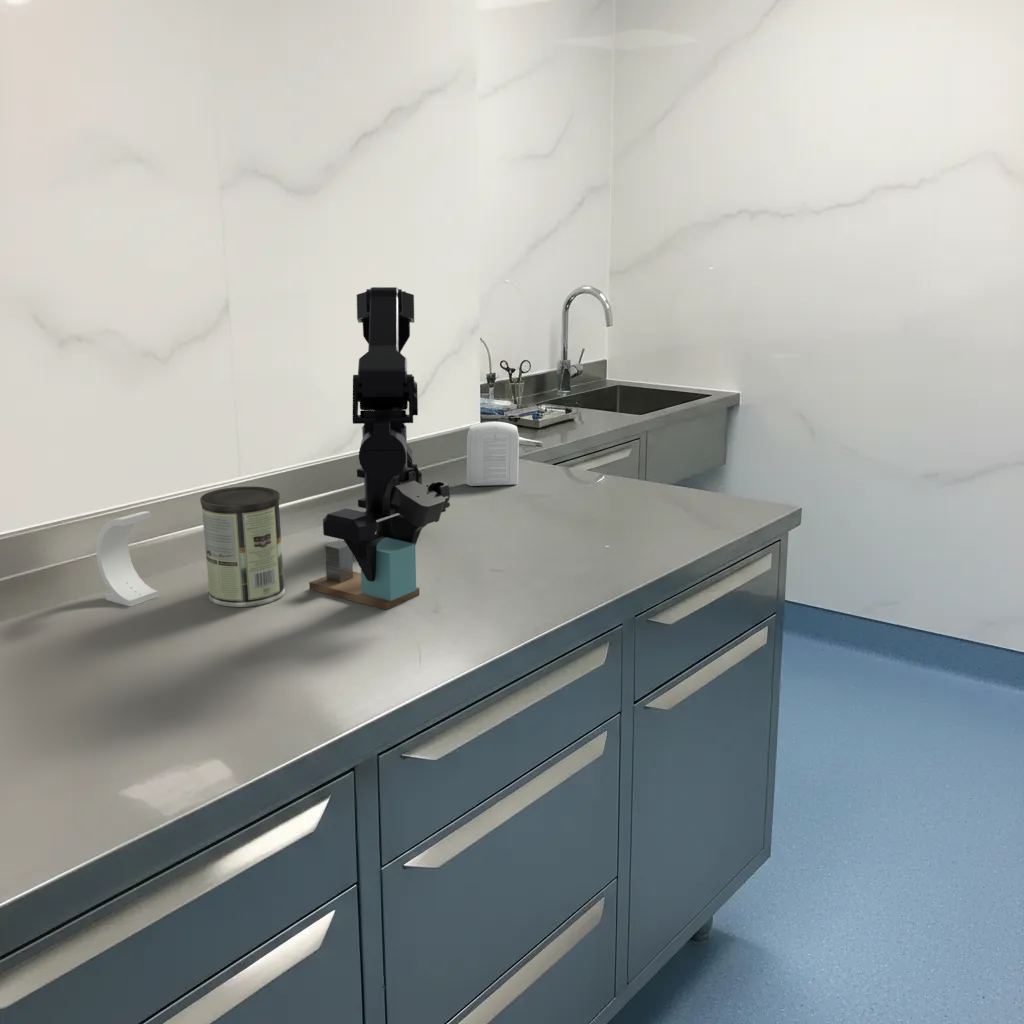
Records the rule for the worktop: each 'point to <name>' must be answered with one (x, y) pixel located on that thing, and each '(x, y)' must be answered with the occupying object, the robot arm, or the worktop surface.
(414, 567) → the turquoise upright block
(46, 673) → the worktop surface
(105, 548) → the headphone stand
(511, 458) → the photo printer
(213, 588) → the coffee can
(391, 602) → the walnut strip
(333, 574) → the dark metal post
